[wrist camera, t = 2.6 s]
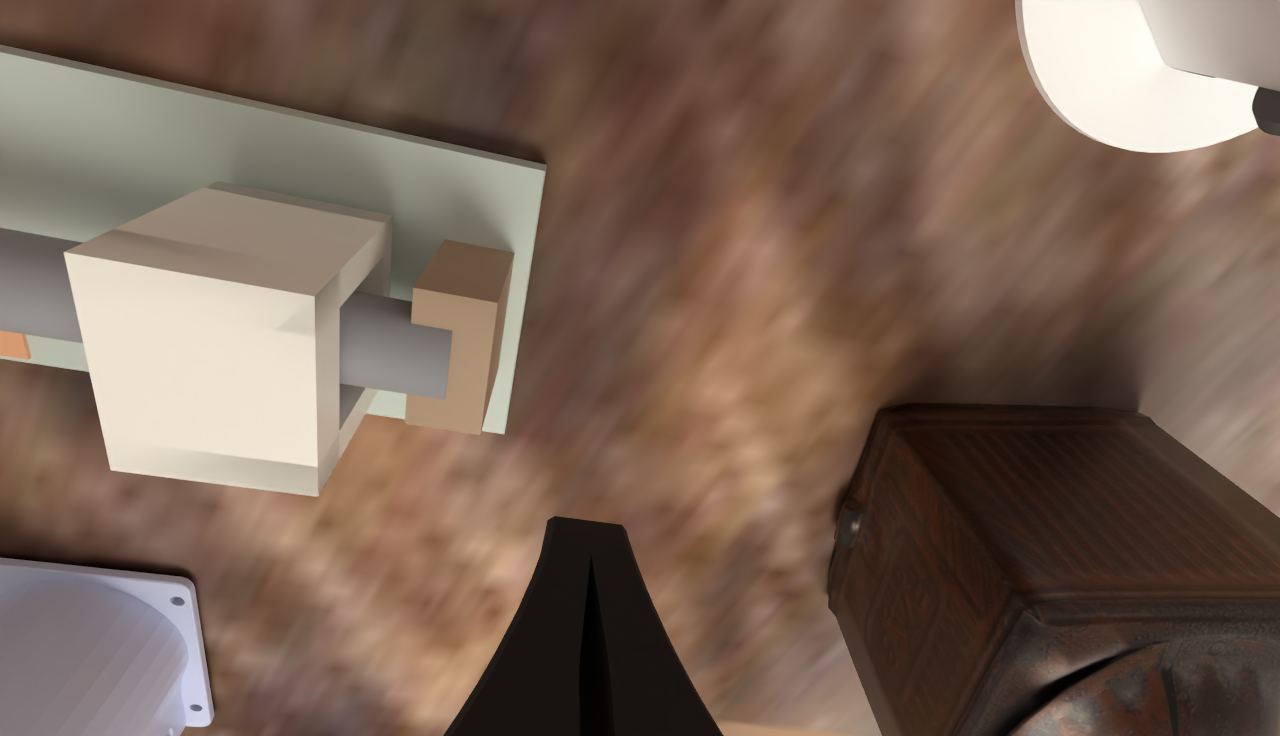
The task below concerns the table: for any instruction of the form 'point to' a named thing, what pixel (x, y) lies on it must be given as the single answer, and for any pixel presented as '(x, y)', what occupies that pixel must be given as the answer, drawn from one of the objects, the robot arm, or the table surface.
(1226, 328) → the table surface
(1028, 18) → the white bent post
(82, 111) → the rail
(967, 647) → the dark brown knobbed piece
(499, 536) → the table surface
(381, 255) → the collar
